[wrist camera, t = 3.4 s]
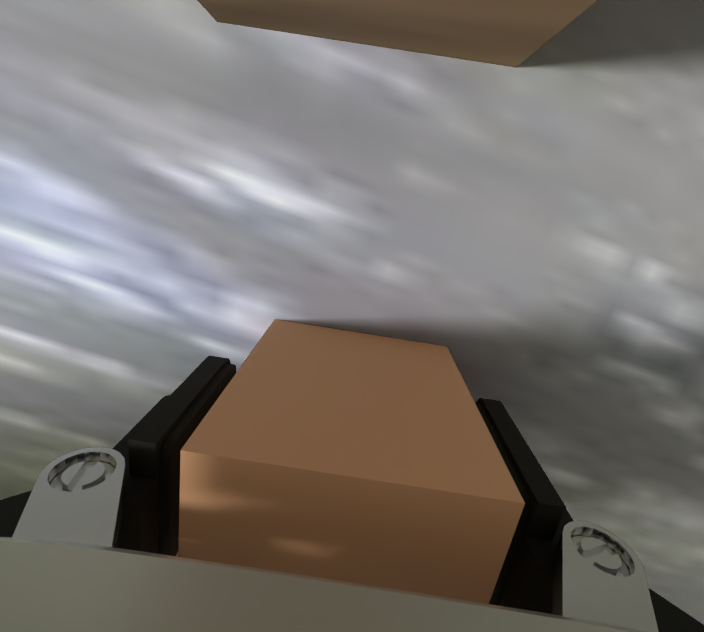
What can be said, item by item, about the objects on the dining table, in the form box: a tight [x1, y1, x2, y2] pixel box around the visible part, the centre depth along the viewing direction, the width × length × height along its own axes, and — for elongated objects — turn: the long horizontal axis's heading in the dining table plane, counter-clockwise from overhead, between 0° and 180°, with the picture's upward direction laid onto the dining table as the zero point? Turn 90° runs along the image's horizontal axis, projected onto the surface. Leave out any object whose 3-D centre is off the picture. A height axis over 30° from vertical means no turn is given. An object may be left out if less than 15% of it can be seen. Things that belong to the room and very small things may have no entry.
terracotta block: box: [178, 319, 525, 604], centre depth 9 cm, size 5×5×6 cm
